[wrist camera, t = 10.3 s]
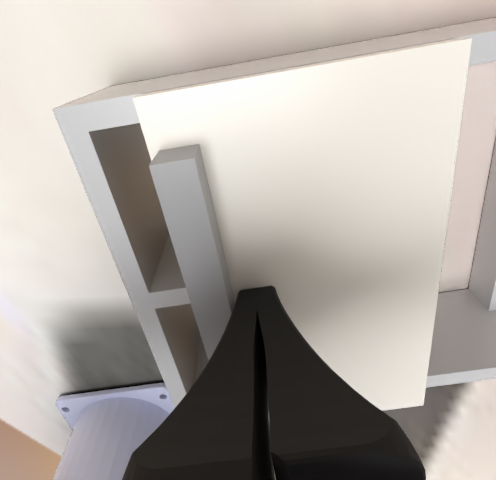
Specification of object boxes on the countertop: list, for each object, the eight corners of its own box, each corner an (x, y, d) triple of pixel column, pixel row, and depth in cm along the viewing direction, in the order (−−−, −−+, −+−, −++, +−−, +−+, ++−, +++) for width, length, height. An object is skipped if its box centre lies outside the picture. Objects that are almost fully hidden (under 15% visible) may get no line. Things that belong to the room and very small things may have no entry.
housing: (479, 297, 22) (549, 371, 17) (191, 337, 23) (179, 418, 18) (539, 9, 15) (692, -5, 10) (110, 86, 15) (52, 108, 11)
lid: (417, 394, 17) (438, 434, 15) (232, 417, 18) (231, 459, 16) (459, 38, 10) (508, 38, 8) (137, 95, 10) (117, 107, 8)
